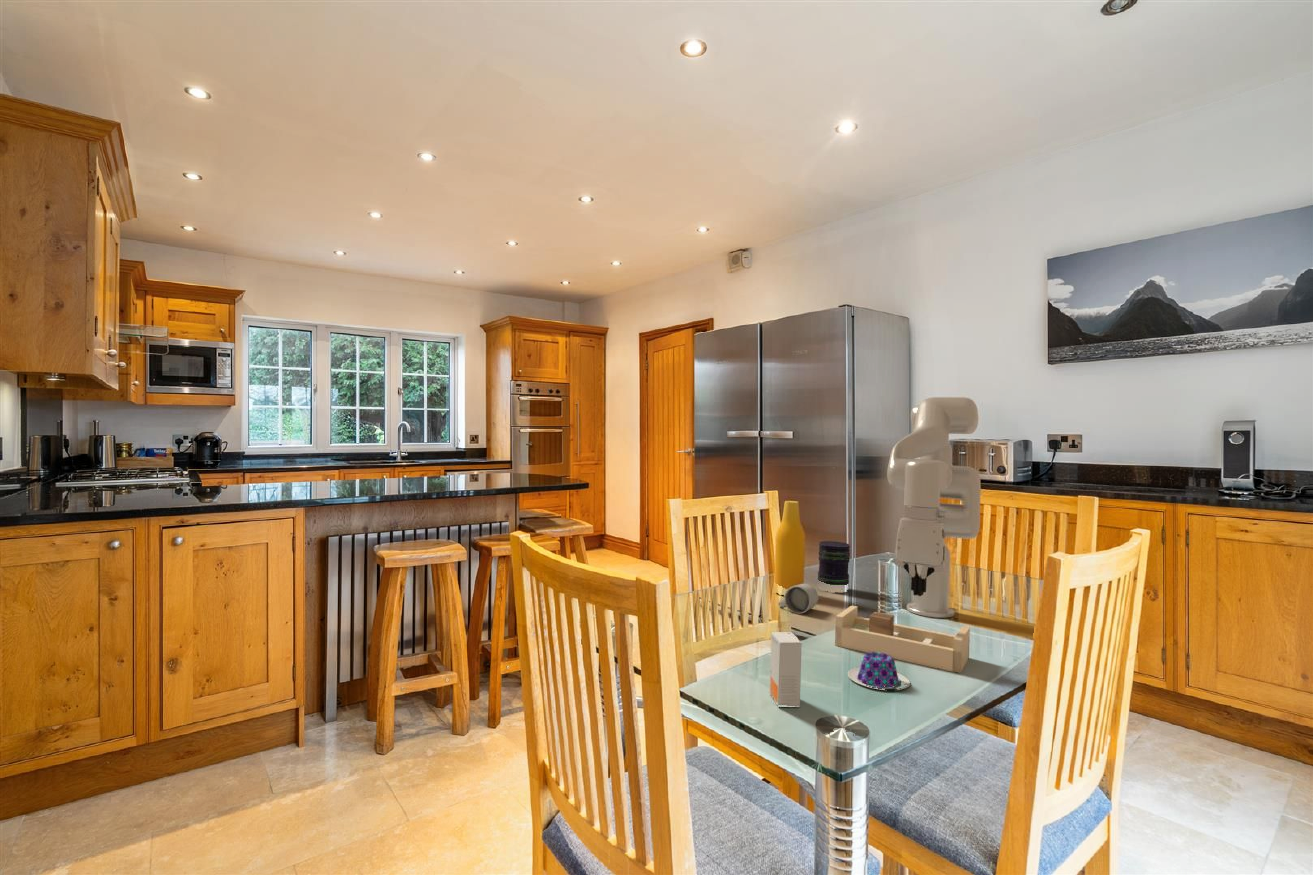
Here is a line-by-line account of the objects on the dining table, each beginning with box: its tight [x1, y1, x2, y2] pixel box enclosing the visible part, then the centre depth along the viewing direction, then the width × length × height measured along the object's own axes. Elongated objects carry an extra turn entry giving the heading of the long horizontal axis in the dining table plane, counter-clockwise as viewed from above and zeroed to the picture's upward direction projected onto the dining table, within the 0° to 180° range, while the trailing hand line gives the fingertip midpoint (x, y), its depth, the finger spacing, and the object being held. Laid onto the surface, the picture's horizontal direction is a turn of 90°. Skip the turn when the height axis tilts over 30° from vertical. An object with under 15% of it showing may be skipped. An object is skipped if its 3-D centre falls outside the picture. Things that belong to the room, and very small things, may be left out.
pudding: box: [847, 652, 911, 691], centre depth 126 cm, size 12×12×5 cm
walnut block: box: [868, 611, 895, 636], centre depth 146 cm, size 4×4×4 cm
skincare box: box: [769, 631, 803, 707], centre depth 115 cm, size 6×4×12 cm
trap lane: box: [834, 605, 971, 674], centre depth 144 cm, size 12×27×7 cm, turn 55°
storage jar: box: [817, 540, 851, 585], centre depth 202 cm, size 10×10×15 cm
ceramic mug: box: [777, 583, 819, 615], centre depth 177 cm, size 11×8×8 cm
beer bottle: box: [773, 500, 806, 589], centre depth 195 cm, size 9×9×29 cm
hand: (918, 594), depth 141 cm, fingers closed
